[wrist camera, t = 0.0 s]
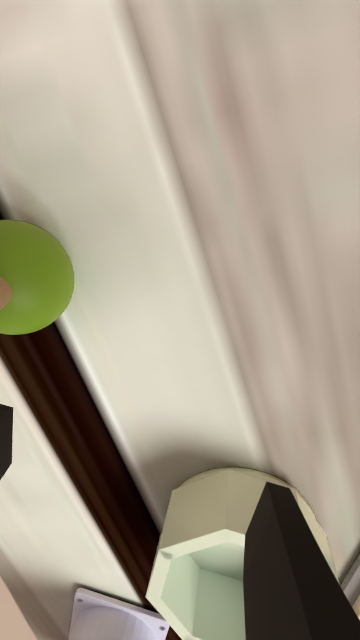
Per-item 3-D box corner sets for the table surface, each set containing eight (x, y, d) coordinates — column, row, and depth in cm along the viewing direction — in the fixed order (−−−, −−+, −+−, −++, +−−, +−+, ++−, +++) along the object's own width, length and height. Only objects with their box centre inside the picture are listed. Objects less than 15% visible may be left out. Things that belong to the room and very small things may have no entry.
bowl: (289, 595, 24) (300, 681, 20) (155, 553, 25) (137, 626, 21) (342, 494, 20) (369, 572, 16) (182, 448, 21) (168, 511, 17)
